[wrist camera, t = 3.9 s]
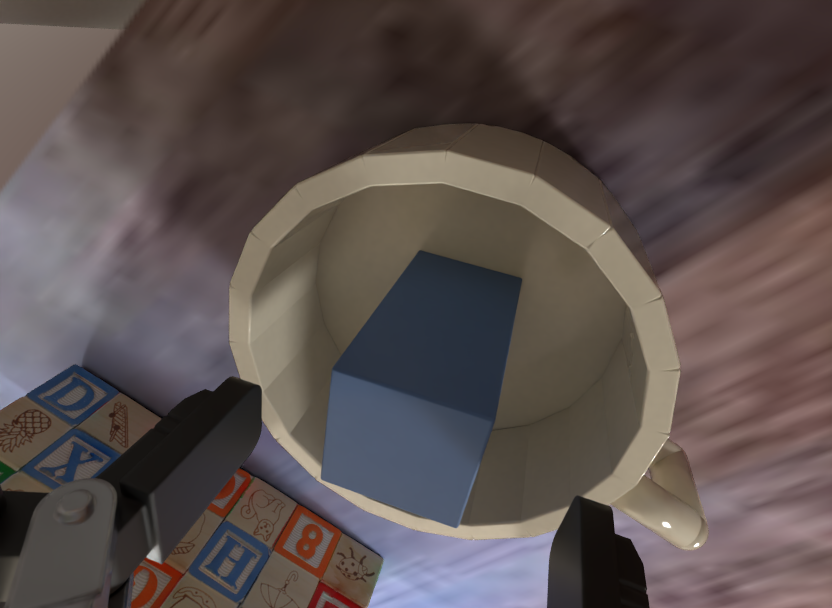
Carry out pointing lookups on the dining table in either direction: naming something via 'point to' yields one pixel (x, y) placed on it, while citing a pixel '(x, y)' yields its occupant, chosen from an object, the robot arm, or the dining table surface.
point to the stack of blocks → (211, 534)
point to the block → (422, 388)
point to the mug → (531, 337)
